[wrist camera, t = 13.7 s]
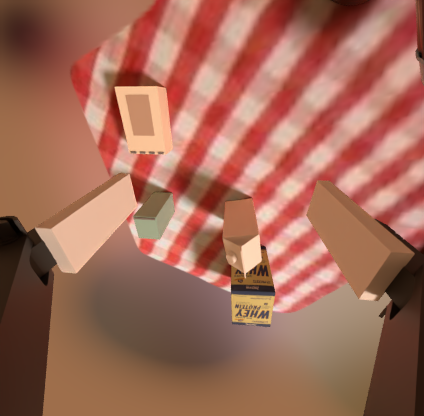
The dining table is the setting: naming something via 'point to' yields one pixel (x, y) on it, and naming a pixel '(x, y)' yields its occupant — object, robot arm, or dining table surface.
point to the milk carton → (241, 235)
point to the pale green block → (154, 215)
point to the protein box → (253, 294)
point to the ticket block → (145, 119)
